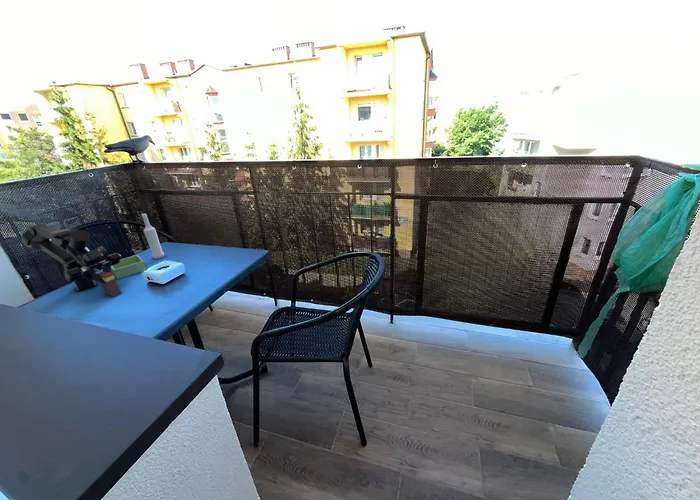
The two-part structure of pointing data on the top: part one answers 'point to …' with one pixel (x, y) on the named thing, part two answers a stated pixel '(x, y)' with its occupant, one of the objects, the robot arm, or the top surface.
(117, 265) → the green open tray
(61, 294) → the top surface
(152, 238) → the bottle
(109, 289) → the chocolate bar
